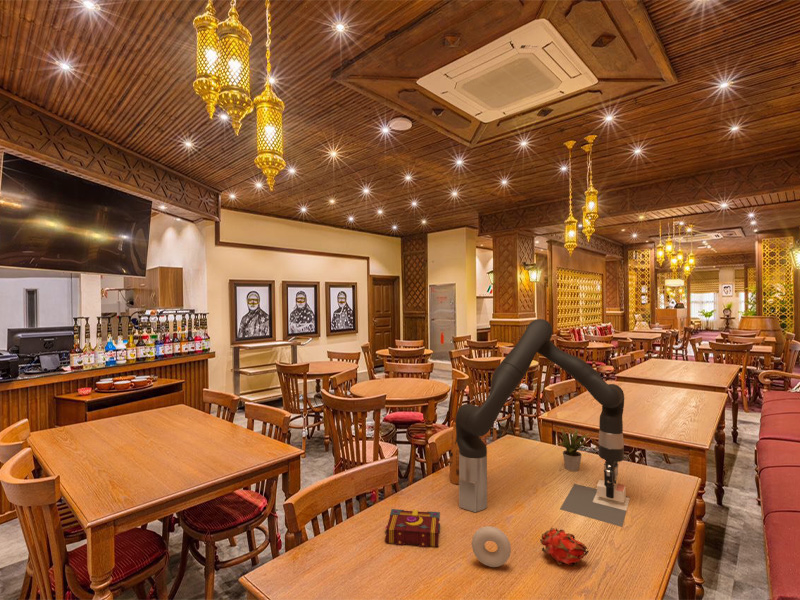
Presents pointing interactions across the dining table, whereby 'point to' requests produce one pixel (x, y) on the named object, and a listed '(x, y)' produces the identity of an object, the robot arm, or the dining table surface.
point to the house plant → (572, 450)
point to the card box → (618, 491)
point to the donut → (486, 556)
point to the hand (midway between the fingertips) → (611, 493)
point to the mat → (595, 505)
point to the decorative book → (413, 528)
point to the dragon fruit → (563, 547)
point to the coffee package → (454, 458)
